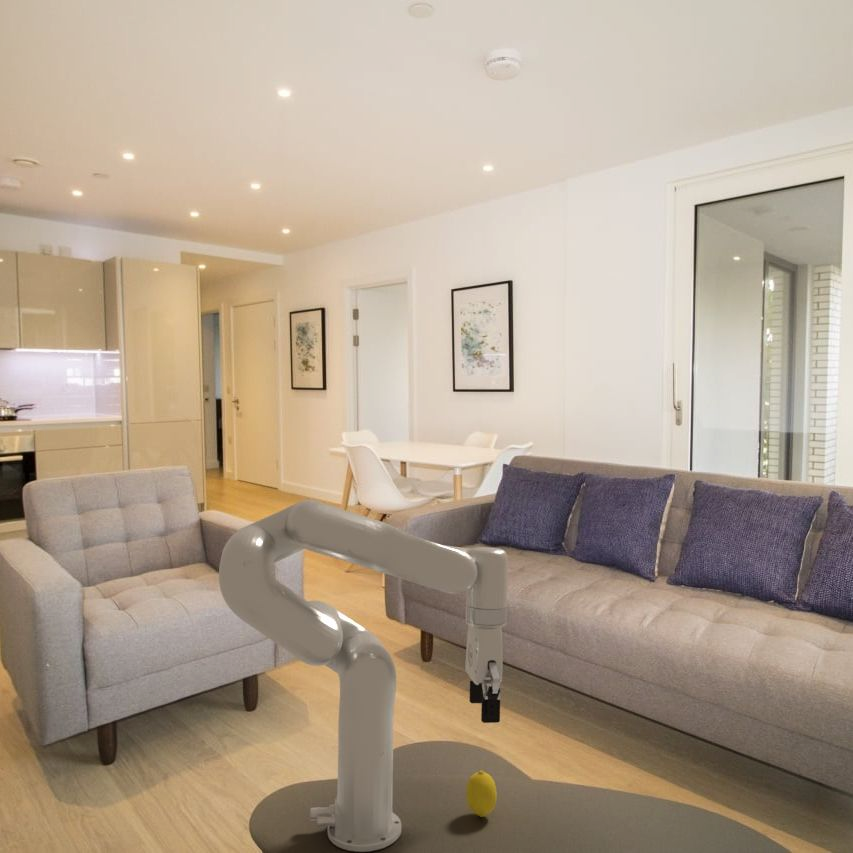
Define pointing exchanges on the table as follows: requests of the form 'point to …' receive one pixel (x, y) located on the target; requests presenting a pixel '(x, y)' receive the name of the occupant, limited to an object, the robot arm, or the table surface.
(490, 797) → the lemon
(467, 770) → the table surface
